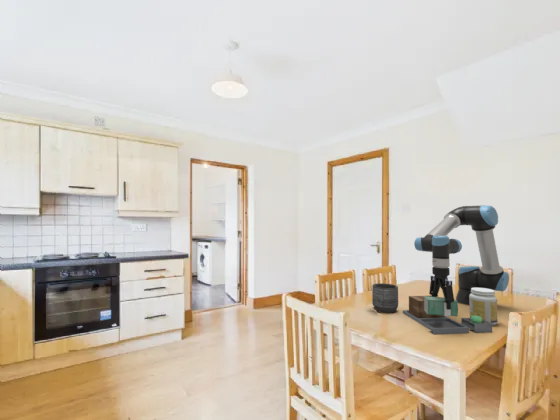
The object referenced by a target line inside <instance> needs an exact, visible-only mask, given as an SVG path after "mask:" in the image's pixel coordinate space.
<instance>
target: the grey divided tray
mask: <svg viewBox="0 0 560 420" xmlns="http://www.w3.org/2000/svg"><path fill="white" fill-rule="evenodd" d="M402 314H404V315H405V316H407V317H408V318H410V319H412V320H413V321H415V322H416V323H418V324H420V325H422V326H423V327H424V328H426V329H428V330H430V331H429V332H430V333H431V334H432V335H450V334H451V335H452V334H470V328H469V327H467V326H465V325H463V324H461V322H458V321H456V320H455V319H452V318H450V316H444V315H442V316H443V318H417V317H415V316H413V315H412V314H410V313H409V309H405V310H402Z"/></svg>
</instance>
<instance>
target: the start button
mask: <svg viewBox="0 0 560 420" xmlns="http://www.w3.org/2000/svg"><path fill="white" fill-rule="evenodd" d="M471 321H473V322H475V323H482V317H480V316H476V315H471Z"/></svg>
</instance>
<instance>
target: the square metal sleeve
mask: <svg viewBox="0 0 560 420" xmlns="http://www.w3.org/2000/svg"><path fill="white" fill-rule="evenodd" d="M460 321H461V322H460V323H461V324H463V325H465V326H467V327H469V332H472V333H474V334H479V333H481V334H482V333H485V332H486V333H493V326H492V323H489V322H487V321H485V320H482V323H475V322H473V321H471V318H470V317H461V319H460ZM486 333H485V334H486Z"/></svg>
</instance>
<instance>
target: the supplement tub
mask: <svg viewBox="0 0 560 420" xmlns="http://www.w3.org/2000/svg"><path fill="white" fill-rule="evenodd" d="M471 292H472V293H471V294H470V295H469V305H468V306H469V318H471V315H476V316H480V317H482V320H485V321H487V322H489V323H492V327H493V326H496V325H497V324H498V322H499V321H498V319H499V318H498V298H497V296H496V291H495V290H492V289H487V288H471Z"/></svg>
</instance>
